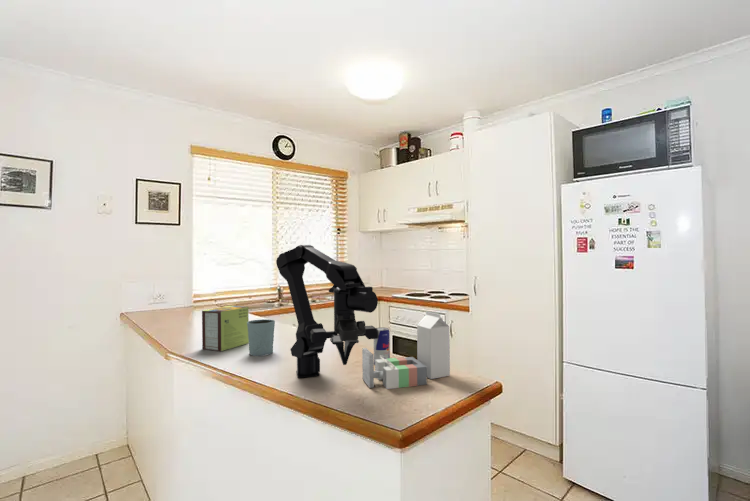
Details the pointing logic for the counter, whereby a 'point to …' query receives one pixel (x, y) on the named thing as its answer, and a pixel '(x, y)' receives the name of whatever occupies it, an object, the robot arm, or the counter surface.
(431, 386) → the counter surface
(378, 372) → the t-handle square plate
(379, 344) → the energy drink
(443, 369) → the milk carton
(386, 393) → the counter surface
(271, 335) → the grey teal cup
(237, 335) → the protein box
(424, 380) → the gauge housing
